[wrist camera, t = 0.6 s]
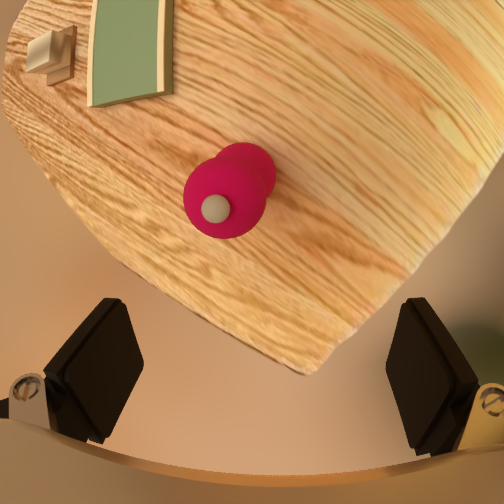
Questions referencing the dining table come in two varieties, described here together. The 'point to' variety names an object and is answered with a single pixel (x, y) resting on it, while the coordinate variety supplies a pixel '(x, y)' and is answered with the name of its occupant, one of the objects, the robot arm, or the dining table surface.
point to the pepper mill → (230, 191)
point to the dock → (129, 51)
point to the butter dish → (53, 55)
